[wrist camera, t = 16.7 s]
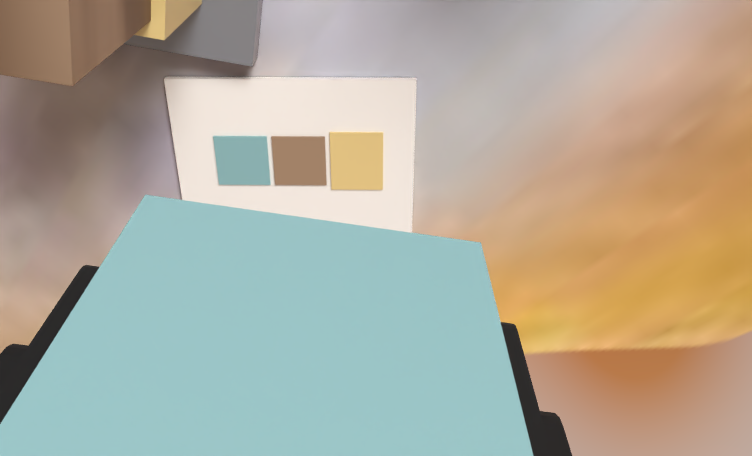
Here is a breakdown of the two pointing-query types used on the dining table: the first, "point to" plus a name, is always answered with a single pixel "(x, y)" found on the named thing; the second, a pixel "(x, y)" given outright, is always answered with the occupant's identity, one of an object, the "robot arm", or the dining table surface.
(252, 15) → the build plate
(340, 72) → the dining table surface
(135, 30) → the walnut brick
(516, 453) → the teal brick
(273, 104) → the tile
